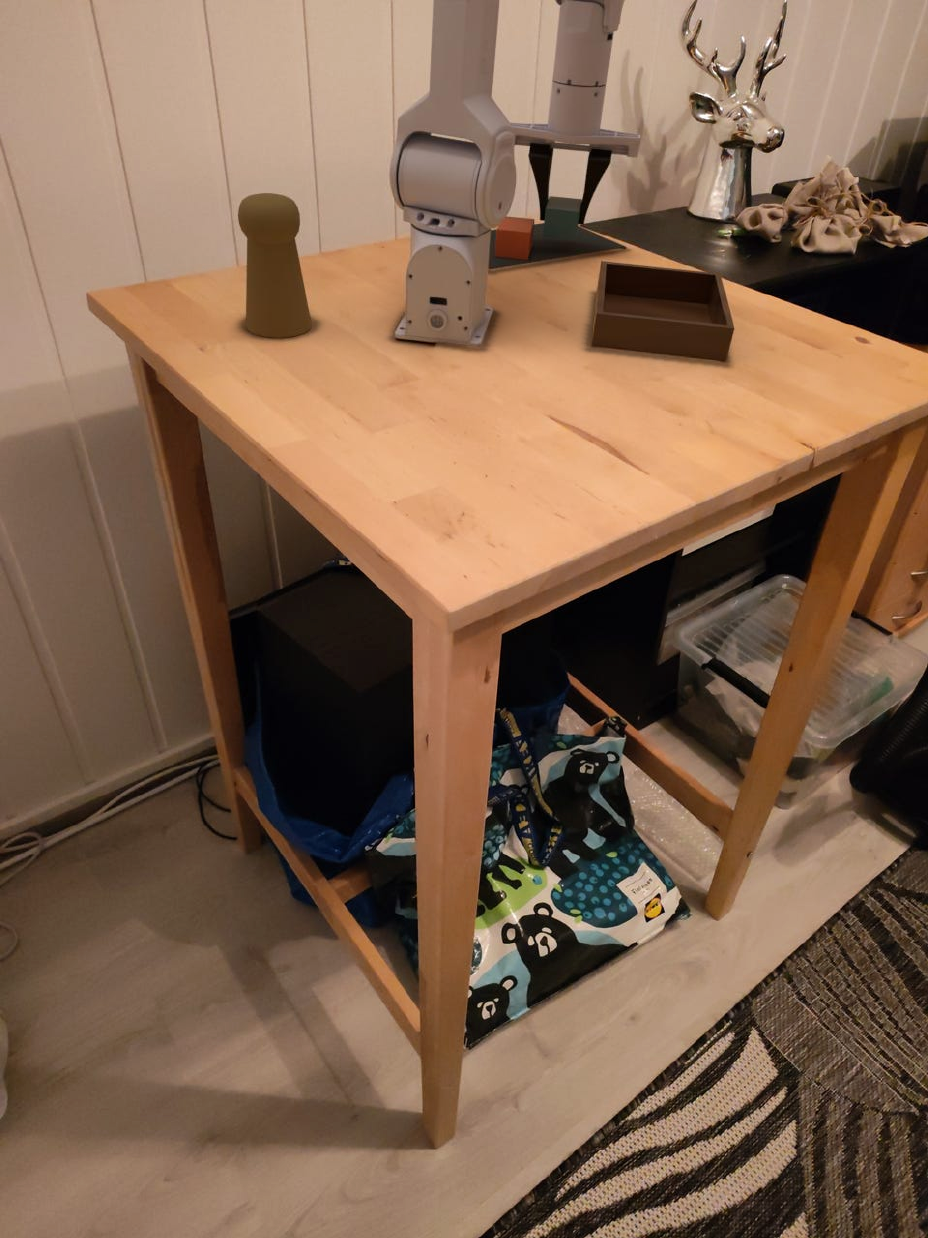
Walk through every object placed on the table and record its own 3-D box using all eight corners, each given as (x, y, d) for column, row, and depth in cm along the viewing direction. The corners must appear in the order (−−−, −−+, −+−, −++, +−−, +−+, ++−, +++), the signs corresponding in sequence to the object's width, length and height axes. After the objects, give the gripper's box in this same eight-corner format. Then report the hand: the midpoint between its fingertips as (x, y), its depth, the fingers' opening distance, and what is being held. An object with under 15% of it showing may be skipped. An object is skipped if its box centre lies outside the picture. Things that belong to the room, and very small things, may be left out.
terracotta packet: (527, 260, 94) (530, 232, 92) (494, 256, 95) (496, 228, 93) (531, 246, 98) (534, 218, 96) (500, 242, 99) (502, 215, 97)
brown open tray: (724, 365, 76) (734, 328, 73) (590, 349, 77) (596, 313, 74) (712, 306, 87) (720, 273, 85) (596, 293, 88) (601, 260, 86)
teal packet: (575, 239, 95) (579, 211, 93) (542, 236, 95) (545, 207, 93) (578, 226, 99) (581, 198, 97) (546, 222, 100) (549, 195, 98)
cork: (306, 339, 75) (296, 207, 68) (238, 335, 75) (222, 202, 68) (316, 314, 80) (309, 188, 72) (253, 310, 79) (239, 184, 72)
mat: (625, 250, 100) (626, 246, 100) (490, 272, 92) (490, 268, 91) (564, 223, 108) (564, 219, 108) (433, 241, 99) (433, 237, 99)
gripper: (647, 82, 90) (625, 216, 99) (515, 71, 91) (504, 204, 100) (648, 92, 85) (624, 233, 94) (507, 80, 86) (497, 220, 95)
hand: (562, 220), depth 97 cm, fingers closed on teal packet, 4 cm apart
